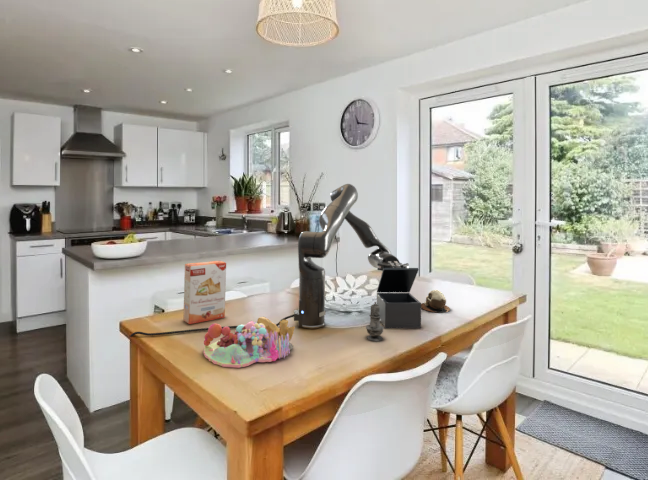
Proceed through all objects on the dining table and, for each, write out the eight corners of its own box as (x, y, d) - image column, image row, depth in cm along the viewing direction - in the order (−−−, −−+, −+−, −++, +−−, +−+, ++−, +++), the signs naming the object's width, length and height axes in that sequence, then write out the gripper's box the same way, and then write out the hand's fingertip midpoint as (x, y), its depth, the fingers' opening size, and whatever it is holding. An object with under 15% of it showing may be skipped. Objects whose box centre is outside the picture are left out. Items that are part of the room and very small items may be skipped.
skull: (412, 302, 174) (426, 284, 176) (428, 318, 176) (442, 299, 178) (427, 309, 162) (442, 289, 164) (444, 326, 164) (459, 305, 166)
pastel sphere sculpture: (251, 331, 139) (252, 304, 139) (307, 347, 125) (308, 317, 125) (190, 355, 118) (190, 322, 118) (248, 377, 105) (249, 340, 105)
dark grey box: (420, 328, 145) (421, 303, 145) (385, 328, 144) (385, 303, 144) (409, 315, 159) (409, 292, 159) (376, 315, 159) (376, 292, 159)
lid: (418, 269, 148) (418, 267, 149) (383, 269, 147) (383, 267, 148) (409, 292, 159) (409, 290, 160) (376, 292, 158) (376, 290, 159)
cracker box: (189, 325, 144) (190, 265, 144) (182, 321, 149) (183, 263, 149) (225, 318, 153) (226, 261, 153) (218, 314, 158) (219, 259, 158)
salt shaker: (383, 342, 130) (383, 304, 130) (364, 340, 132) (365, 303, 132) (384, 336, 136) (384, 299, 136) (366, 334, 137) (367, 298, 137)
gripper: (372, 253, 168) (381, 260, 150) (404, 253, 168) (416, 260, 151) (371, 272, 168) (381, 281, 150) (403, 272, 168) (416, 281, 151)
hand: (398, 271), depth 151 cm, fingers closed
